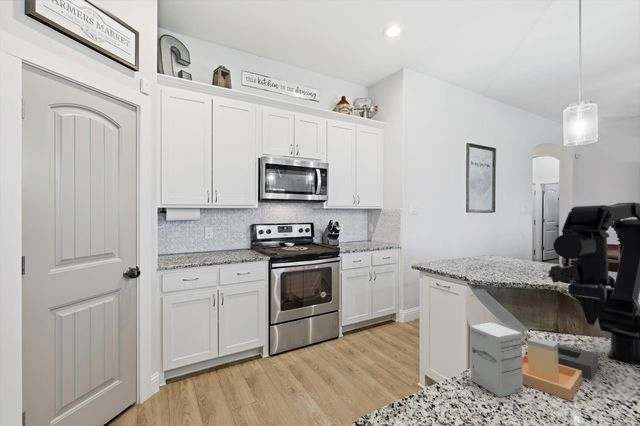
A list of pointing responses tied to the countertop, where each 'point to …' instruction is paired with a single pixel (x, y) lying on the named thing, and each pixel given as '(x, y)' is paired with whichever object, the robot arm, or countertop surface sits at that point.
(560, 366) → the parts tray
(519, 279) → the countertop surface
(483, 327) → the supplement box
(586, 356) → the gray rectangular frame
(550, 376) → the block
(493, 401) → the countertop surface
